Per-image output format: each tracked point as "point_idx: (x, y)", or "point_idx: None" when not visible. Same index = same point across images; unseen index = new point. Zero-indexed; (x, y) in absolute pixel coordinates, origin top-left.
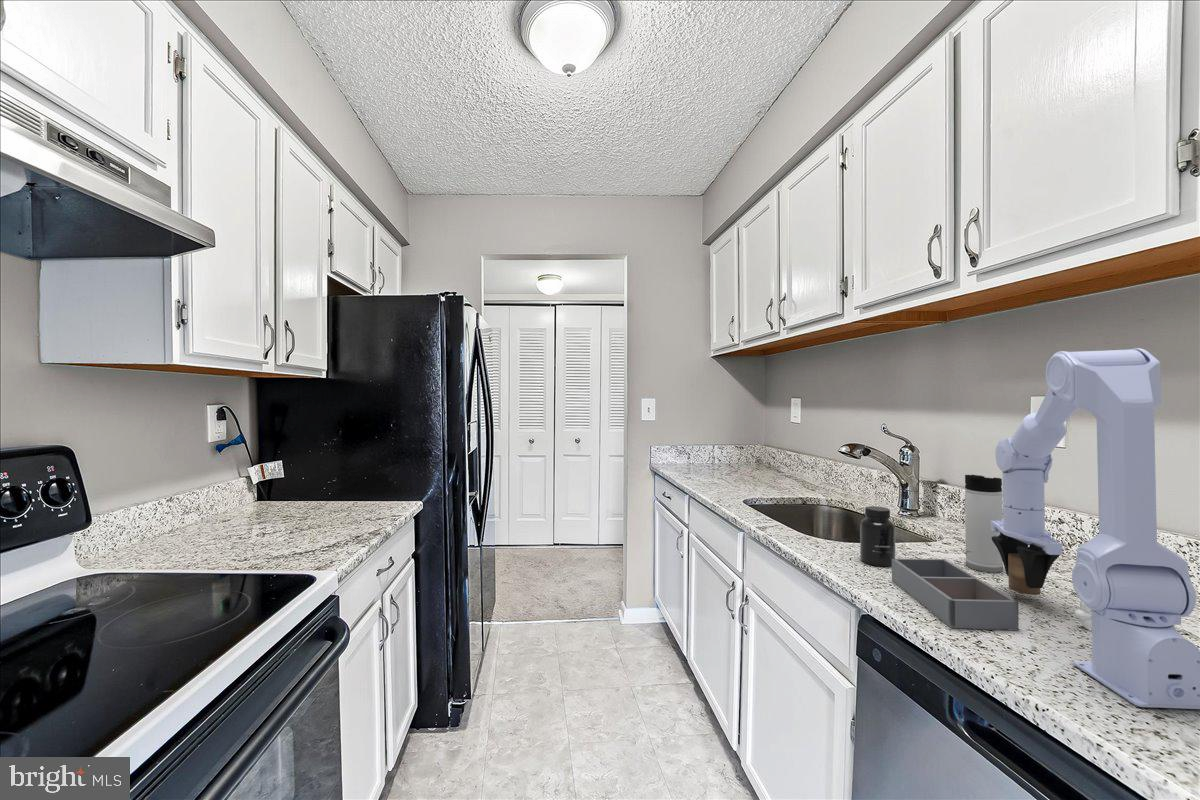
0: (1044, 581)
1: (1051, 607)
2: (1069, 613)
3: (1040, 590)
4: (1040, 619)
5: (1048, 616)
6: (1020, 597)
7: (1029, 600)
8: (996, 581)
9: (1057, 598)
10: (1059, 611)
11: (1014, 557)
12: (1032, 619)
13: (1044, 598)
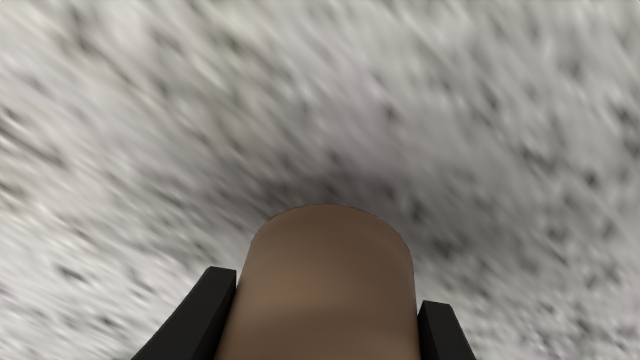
0: (465, 341)
1: (458, 182)
2: (559, 160)
3: (396, 246)
4: (555, 328)
5: (545, 280)
6: None
7: None
8: (46, 160)
9: (334, 17)
10: (517, 187)
11: None
12: (542, 351)
13: (326, 107)
